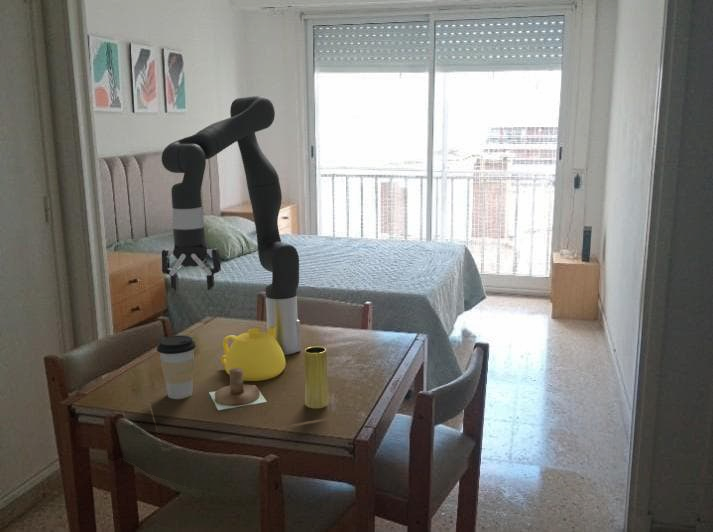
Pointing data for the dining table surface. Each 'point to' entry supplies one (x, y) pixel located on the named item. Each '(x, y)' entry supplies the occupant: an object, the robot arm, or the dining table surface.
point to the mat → (221, 407)
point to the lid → (237, 391)
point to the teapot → (254, 354)
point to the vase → (316, 378)
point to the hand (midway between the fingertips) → (193, 289)
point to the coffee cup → (177, 365)
